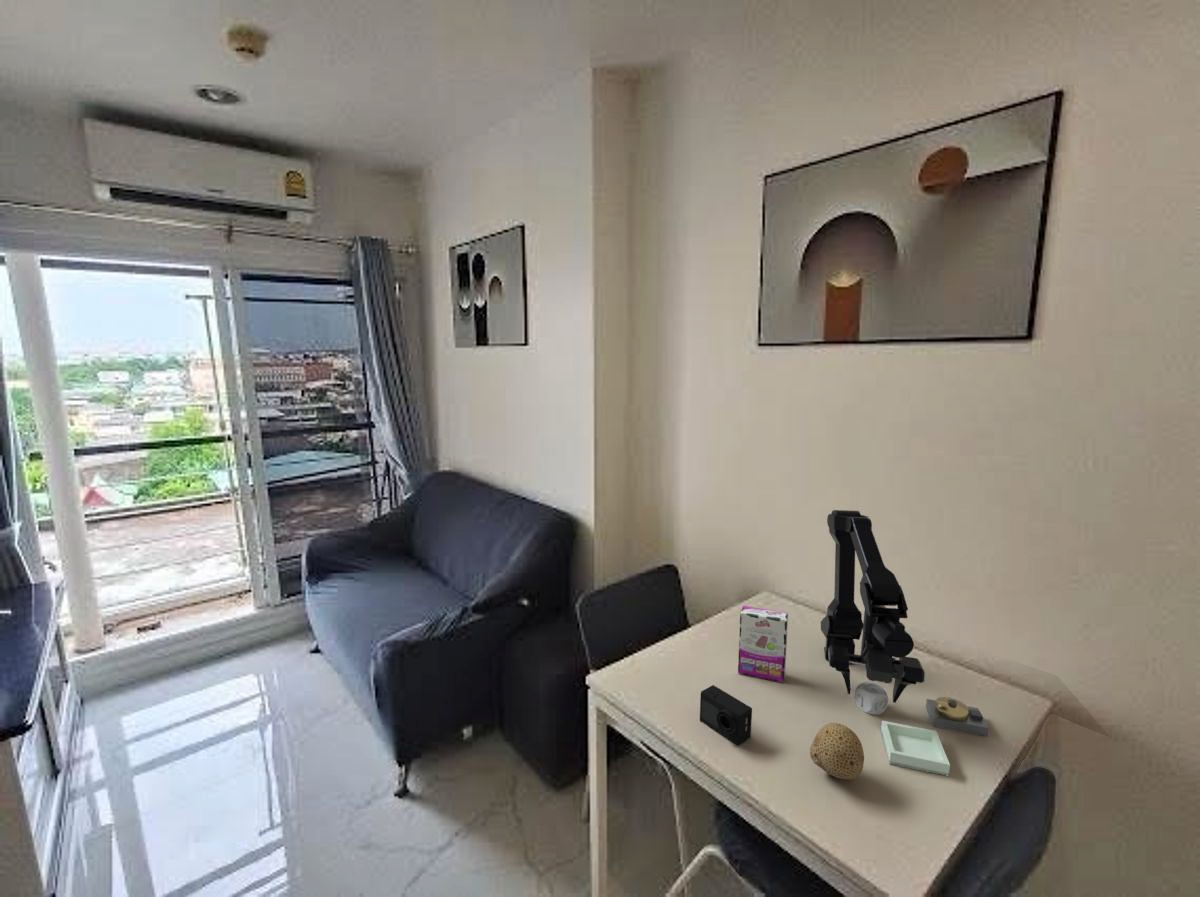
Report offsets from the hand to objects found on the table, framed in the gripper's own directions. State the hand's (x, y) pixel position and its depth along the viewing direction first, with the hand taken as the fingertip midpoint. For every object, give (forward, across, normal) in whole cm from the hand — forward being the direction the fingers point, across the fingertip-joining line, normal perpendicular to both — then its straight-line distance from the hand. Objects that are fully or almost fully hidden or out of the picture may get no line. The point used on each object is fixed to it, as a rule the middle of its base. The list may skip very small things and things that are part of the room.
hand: (871, 697), depth 122 cm
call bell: (+2, +17, +1) cm, 17 cm away
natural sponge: (+3, -9, -25) cm, 27 cm away
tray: (+2, +6, -13) cm, 15 cm away
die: (+3, 0, 0) cm, 3 cm away
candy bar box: (+3, -24, +6) cm, 25 cm away
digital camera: (+3, -31, -19) cm, 36 cm away
